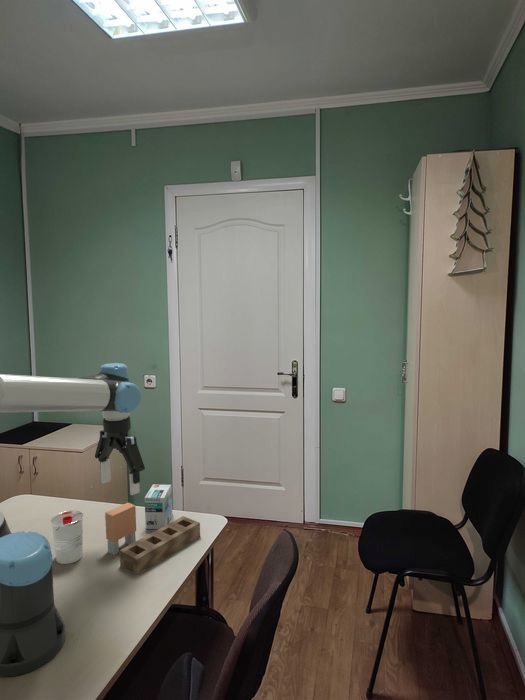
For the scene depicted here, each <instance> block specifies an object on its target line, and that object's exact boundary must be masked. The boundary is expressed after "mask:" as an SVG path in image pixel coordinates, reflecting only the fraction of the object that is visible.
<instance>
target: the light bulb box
mask: <svg viewBox="0 0 525 700" xmlns="http://www.w3.org/2000/svg"><path fill="white" fill-rule="evenodd" d="M172 486H173V485H172V484H155V483H154V484H152V485H151V487H150V489H149V490H148V492H147V493H146V495H145V496H144V514H145V515H144V516H145V530H158V529H160V528H162V527H164V526H166V525H168V524H169V523H170V520H171V519H172V516H173V488H172Z"/></svg>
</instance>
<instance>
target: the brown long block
mask: <svg viewBox="0 0 525 700" xmlns="http://www.w3.org/2000/svg"><path fill="white" fill-rule="evenodd" d="M199 536H200V537H201V522H199V521H196V520H195V519H194V520H193V519H191V518H189V517H187V516H181V517H179V518H177V519H175V520H173V521H172V522H169V523H168V525H166V526H164V527H162V528H160V529H155V530H154V531H153V532H151V533H149V534H147V535H146V536H144V537H141V538H139V539H138V540H136V542H134V543H132V544H130V545H129V544H128V545H127V546H125V547H123V548H121V549H119V563H120V567H122V568H124V569H125V570H128V571H130V572H131V573H133V574H135V575H136V576H138V575H140V574H142V573H144V571H146V570H149V569H150V568H152V567H153V566H155V565H156V564H158V563H159V562H161V561H163V560H164V559H166V558H167V557H169V556H171V555H172V554H174V553H176V552H177V551H179V550H181V549H182V548H184V547H185V546H187V545H189V544H190V542H191V541H192V542H194V541H195V540H197V539H199V538H200V537H199ZM198 537H199V538H198ZM196 538H197V539H196ZM193 540H194V541H193ZM192 542H191V543H192Z"/></svg>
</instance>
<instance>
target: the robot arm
mask: <svg viewBox="0 0 525 700" xmlns="http://www.w3.org/2000/svg"><path fill="white" fill-rule="evenodd" d="M129 380H130V377H129V369H128V366H127V365H126V364H125V363H120V362H114V363H105V364H102V365H101V366H100V369H99V373H96V374H91V375H86V376H85V375H84V376H79V377H59V376H58V377H56V376H43V375H42V376H41V375H40V376H39V375H38V376H37V375H24V374H23V375H22V374H7V373H0V413H39V412H40V413H42V412H43V413H45V412H47V413H48V412H49V413H52V412H102V418H103V419H102V430H100V431H99V439H98V443H97V447H96V449H95V453H94V458H95V459H98V462H99V465H100V466H99V467H100V475H101V476H100V478H101V484H105V483H108V482H111V481H112V477H111V460H110V455H111V454H112V452H113V451H114V449H115V450H117V451H118V452H119V453H120V454H122V456H123V458H124V460H125V462H126V464H127V466H128V468H129V470H130V472H128V473H129V474H128V476H129V495H130V496H134V495H136V494H138V493H140V492H141V491H140V490H141V489H140V482H141V479H140V478H141V477H140V476H141V475H140V472H142V471H145V469H146V467H145V463H144V461H143V458H142V455H141V453H140V450H139V446H138V443H137V437H136V436H135V435H134V436H133V435H132V436H129V431H130V430H131V428H132V427H131V426H132V425H131V417H130V414H131V413H133V412H134V411H135V410H136V409H138V408H139V406H140V404H141V399H142V392H141V389H140V388H139V386H138V385H137V384H135V383H132V382H130V381H129ZM51 549H52V548H51V545H50V541H49V540H48V539H47V537H45V535H43V534H41V533H40V532H39V533H38V532H34V531H27V532H25V531H24V530H23V531H16V532H12V531H11V529H10V528H9V525H8V523H7V520H6V518H5V515H4V514H3V512H2V511H0V677H3V678H5V677H16V676H21V675H25V674H27V673H30V672H32V671H35V670H37V669H39V668H41V667H42V666H44V665H45V664H47V663H48V662H50V661H51V660H52V659H53V658H54V657H55V656H56V655H57V654H58V653H59V652H60V650H62V649H61V648H62V647H63V646H64V643H65V640H66V628H65V623H64V621H63V619H62V616H61V615H60V613H59V610H58V608H57V607H56V604H55V596H54V578H53V577H54V576H53V574H54V573H53V554H52V550H51Z"/></svg>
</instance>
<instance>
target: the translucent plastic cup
mask: <svg viewBox="0 0 525 700" xmlns="http://www.w3.org/2000/svg"><path fill="white" fill-rule="evenodd" d="M83 517H84V513H83V512H82V511H80V510H67V511H62V512H60V513H58V514H56V515H54V516H53V517H51V519H50V522H51V525H52V534H53V535H52V536H53V538H52V539H53V545H54V551H55V560H56V562H57V563H58V564H60V565H69V564H72V563H75V562H77V561H79V560H81V558H82V557H83V554H84V553H83V551H84V549H83V548H84V546H83V540H84V535H83V534H84V530H83V527H84V526H83Z"/></svg>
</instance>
